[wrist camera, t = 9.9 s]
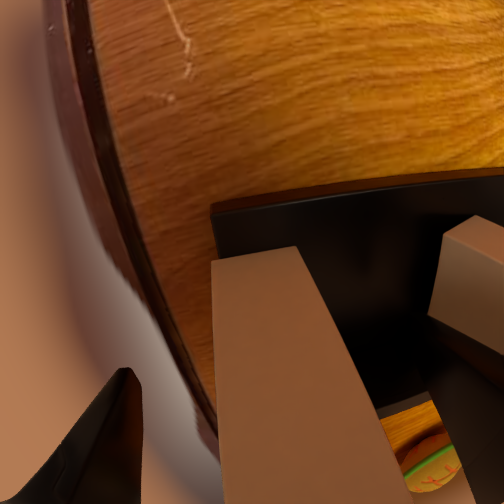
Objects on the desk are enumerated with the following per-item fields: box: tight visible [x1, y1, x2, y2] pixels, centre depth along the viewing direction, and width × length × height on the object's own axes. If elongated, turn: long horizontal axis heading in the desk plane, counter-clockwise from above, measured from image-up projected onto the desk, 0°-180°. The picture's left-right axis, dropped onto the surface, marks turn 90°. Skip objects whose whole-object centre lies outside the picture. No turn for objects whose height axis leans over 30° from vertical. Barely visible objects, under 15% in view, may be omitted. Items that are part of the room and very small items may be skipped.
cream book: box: [211, 246, 414, 504], centre depth 7 cm, size 3×5×8 cm, turn 8°
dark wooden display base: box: [210, 168, 504, 420], centre depth 10 cm, size 18×8×4 cm, turn 98°
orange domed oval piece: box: [400, 434, 461, 492], centre depth 21 cm, size 7×10×5 cm
